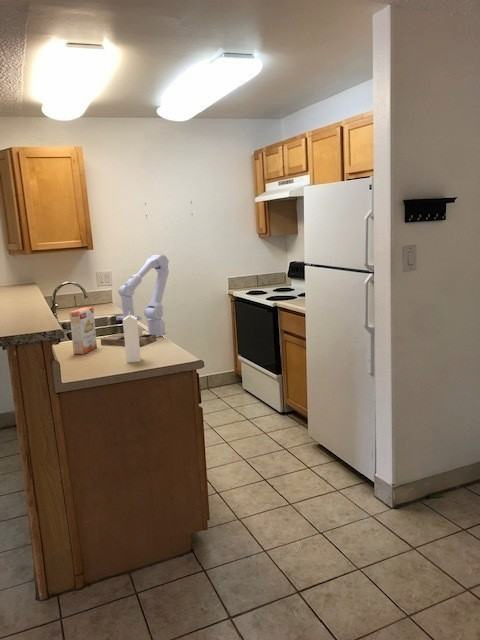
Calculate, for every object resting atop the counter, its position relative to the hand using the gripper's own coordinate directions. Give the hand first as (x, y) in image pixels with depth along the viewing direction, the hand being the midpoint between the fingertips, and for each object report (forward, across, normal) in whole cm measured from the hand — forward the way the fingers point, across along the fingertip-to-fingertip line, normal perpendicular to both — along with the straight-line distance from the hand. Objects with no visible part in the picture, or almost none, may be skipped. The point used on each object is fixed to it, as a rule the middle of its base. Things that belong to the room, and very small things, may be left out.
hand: (130, 333), depth 279 cm
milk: (+4, +26, -35) cm, 44 cm away
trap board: (+4, +1, -4) cm, 5 cm away
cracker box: (+4, -10, -24) cm, 26 cm away
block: (+1, +4, 0) cm, 4 cm away
